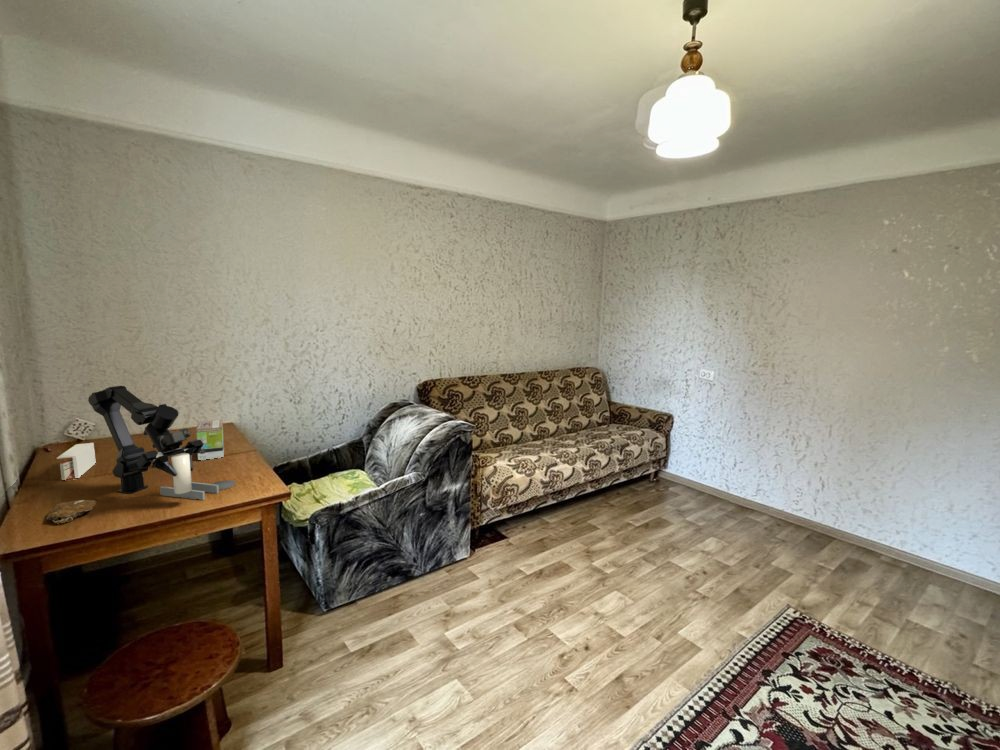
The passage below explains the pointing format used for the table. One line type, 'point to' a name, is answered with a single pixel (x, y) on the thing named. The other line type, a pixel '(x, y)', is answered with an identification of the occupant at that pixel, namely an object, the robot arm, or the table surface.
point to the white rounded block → (181, 473)
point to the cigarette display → (77, 460)
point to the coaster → (225, 484)
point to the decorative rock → (70, 510)
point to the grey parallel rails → (192, 491)
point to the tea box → (210, 439)
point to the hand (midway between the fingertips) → (184, 472)
